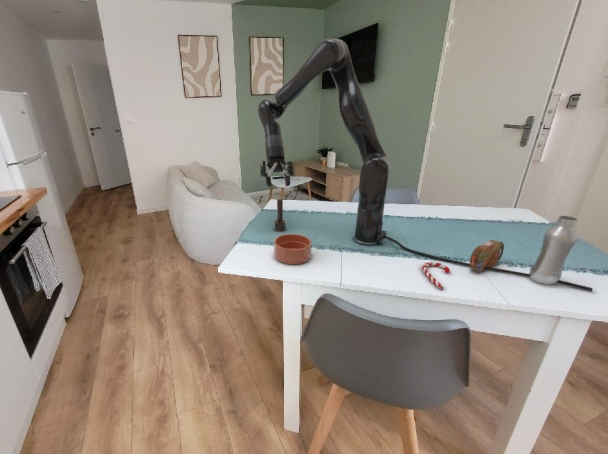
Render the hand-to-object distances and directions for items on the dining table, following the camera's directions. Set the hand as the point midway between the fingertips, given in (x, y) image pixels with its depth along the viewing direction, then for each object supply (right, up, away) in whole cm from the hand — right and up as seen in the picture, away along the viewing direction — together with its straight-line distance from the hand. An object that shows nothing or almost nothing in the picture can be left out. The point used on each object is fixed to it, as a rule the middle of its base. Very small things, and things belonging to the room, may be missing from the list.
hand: (278, 186), depth 120 cm
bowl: (+4, -28, -13) cm, 31 cm away
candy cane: (+46, -33, -29) cm, 64 cm away
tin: (+64, -30, -25) cm, 75 cm away
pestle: (+1, -18, +10) cm, 21 cm away
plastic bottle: (+74, -33, -34) cm, 88 cm away
